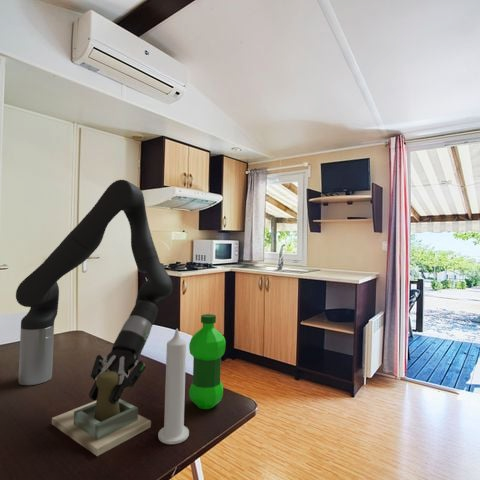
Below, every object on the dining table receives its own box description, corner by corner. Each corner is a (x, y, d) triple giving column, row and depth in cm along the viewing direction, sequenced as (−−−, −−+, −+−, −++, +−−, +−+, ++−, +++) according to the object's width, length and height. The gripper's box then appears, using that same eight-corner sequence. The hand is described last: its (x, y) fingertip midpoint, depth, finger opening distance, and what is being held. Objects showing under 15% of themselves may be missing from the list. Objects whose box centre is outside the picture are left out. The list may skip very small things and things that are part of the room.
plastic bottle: (217, 416, 85) (219, 321, 85) (180, 409, 88) (183, 317, 88) (229, 399, 94) (231, 314, 95) (196, 394, 97) (198, 311, 98)
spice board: (51, 424, 79) (52, 405, 79) (104, 402, 91) (104, 386, 91) (97, 456, 68) (97, 434, 68) (150, 427, 79) (151, 408, 79)
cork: (110, 426, 75) (111, 378, 75) (87, 423, 76) (88, 376, 76) (125, 413, 80) (126, 369, 81) (103, 411, 82) (104, 367, 82)
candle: (160, 427, 79) (164, 324, 80) (189, 426, 80) (192, 325, 80) (155, 445, 72) (159, 332, 73) (187, 444, 73) (191, 332, 73)
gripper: (104, 326, 88) (68, 390, 76) (151, 331, 84) (121, 399, 72) (116, 340, 93) (84, 402, 81) (161, 346, 89) (134, 411, 77)
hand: (102, 400), depth 76 cm, fingers closed on cork, 5 cm apart
